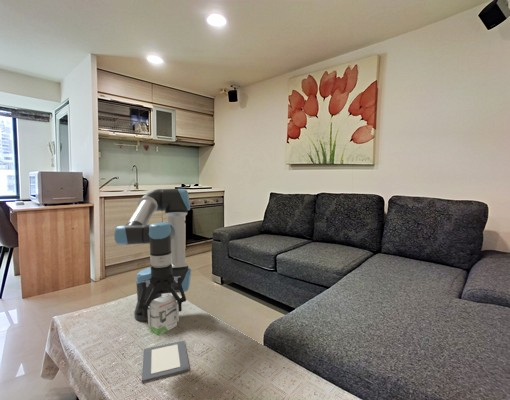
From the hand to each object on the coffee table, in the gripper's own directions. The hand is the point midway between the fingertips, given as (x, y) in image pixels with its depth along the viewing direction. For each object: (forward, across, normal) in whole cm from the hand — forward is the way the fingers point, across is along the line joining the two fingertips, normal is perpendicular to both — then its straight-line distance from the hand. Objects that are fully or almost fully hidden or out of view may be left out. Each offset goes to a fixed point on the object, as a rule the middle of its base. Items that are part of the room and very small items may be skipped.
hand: (163, 322), depth 102 cm
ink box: (+3, 0, 0) cm, 3 cm away
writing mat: (+15, 0, 0) cm, 15 cm away
